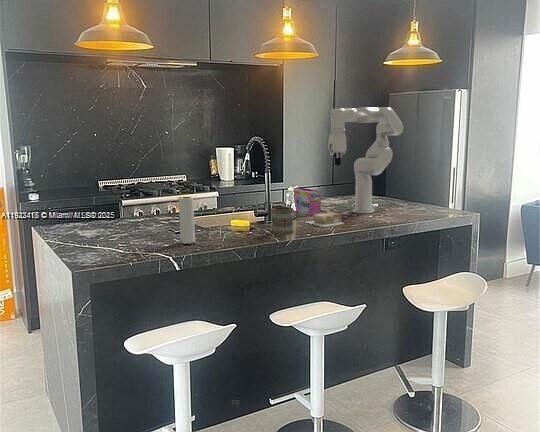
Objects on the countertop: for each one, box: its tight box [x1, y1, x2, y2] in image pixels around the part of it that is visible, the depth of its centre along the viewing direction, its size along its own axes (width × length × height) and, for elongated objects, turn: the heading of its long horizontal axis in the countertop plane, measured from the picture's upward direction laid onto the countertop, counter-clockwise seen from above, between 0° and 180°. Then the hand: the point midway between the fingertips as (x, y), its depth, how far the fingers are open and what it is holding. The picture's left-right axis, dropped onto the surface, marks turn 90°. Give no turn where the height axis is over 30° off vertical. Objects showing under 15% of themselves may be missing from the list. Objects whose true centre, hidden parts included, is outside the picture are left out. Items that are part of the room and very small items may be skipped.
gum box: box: [293, 187, 322, 217], centre depth 320 cm, size 24×8×14 cm, turn 30°
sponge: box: [313, 211, 342, 225], centre depth 286 cm, size 4×8×12 cm
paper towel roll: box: [177, 196, 196, 243], centre depth 243 cm, size 7×6×21 cm
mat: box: [304, 220, 345, 228], centre depth 286 cm, size 14×16×1 cm
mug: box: [271, 206, 294, 236], centre depth 266 cm, size 16×11×12 cm
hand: (337, 165), depth 299 cm, fingers closed
